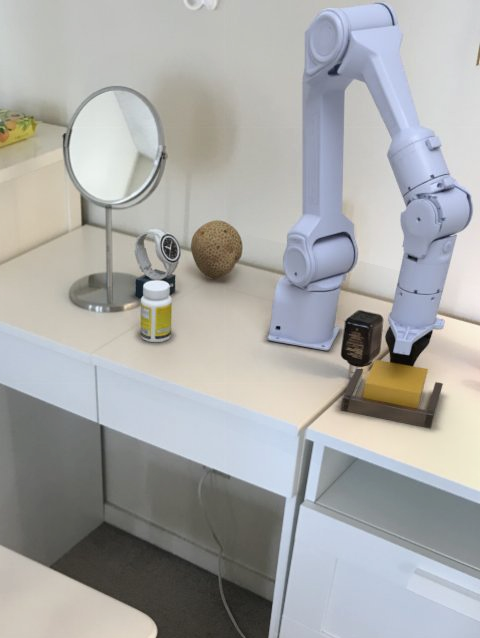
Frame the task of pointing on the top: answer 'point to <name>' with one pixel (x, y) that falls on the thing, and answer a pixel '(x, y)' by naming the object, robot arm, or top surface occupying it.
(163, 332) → the supplement bottle
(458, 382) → the top surface
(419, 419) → the bay
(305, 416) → the top surface
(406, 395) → the block
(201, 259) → the natural sponge
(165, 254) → the watch
